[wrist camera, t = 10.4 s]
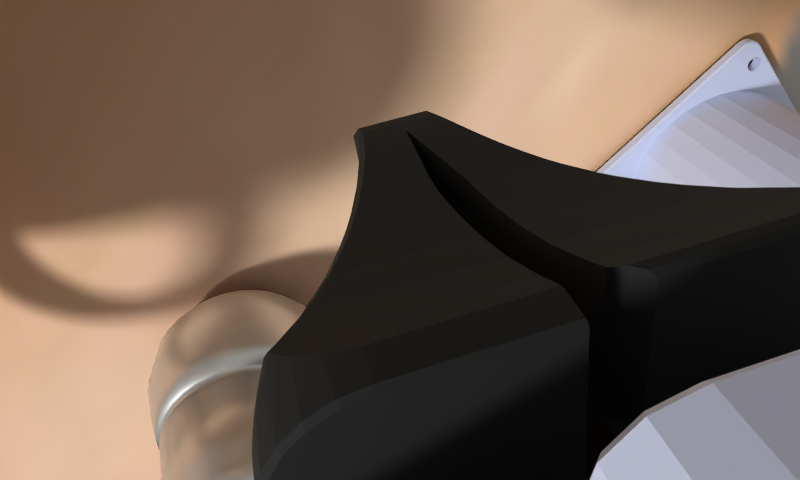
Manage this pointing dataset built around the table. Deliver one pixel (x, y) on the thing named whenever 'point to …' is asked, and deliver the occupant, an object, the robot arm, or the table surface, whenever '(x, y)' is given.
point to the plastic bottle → (214, 383)
